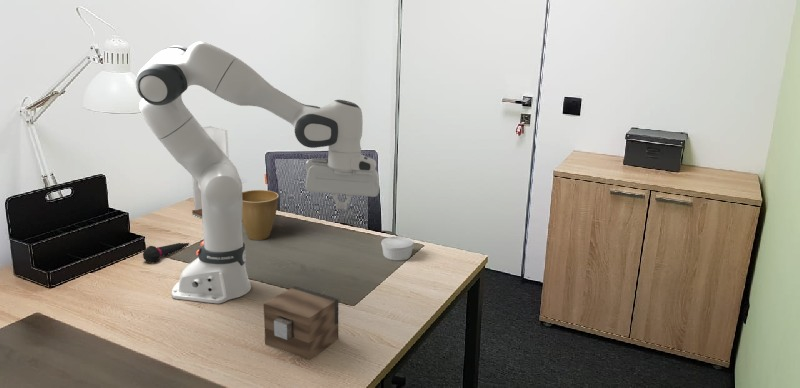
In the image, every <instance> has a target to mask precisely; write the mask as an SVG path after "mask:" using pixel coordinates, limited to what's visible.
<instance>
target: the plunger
mask: <svg viewBox="0 0 800 388" xmlns="http://www.w3.org/2000/svg"><path fill="white" fill-rule="evenodd" d="M274 335H275V336H278V337H280V338H283V339H286V340H288V339H289V338H291V337H292V336H294V329H293V320H290V319H287V318H284V317H279V318H277V319H276V320H274Z"/></svg>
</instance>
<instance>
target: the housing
mask: <svg viewBox="0 0 800 388" xmlns="http://www.w3.org/2000/svg"><path fill="white" fill-rule="evenodd" d="M279 317H284V318H287V319H290V320H293V329H294V336H292V337H291V338H289V339H288V340H286V339H283V338H280V337H278V336H275V335H274V320H276V319H277V318H279ZM263 323H264V324H263V325H264V326H263V327H264V345H266V346H269V347H271V348H274V349H277V350H278V351H279V350H280V351H281V352H282V351H283V352H285V353H288V354H290V355H294V356H296V357H299V358H301V359H304V360H307V361H311V360H312V359H314V358H315V357H316V356H318V355H319V354H320V353H322V352H323V351H324V350H326V349H327V348H329V347H330V346H331V345H333V344H334V343H335V342H336V341H338V340H339V299H338V298H336V297H334V296H333V297H332V296H329V295H325V294H323V293H319V292H317V291H313V290H309V289H306V288H303V287H299V286H296V285H294V286H292V287H290V288H289V289H287V290H286V291H283V292H282V293H279V294H278V295H276V296H274V297H273V298H271V299H269V300H267V301H265V302H263Z"/></svg>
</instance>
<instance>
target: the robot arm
mask: <svg viewBox="0 0 800 388" xmlns="http://www.w3.org/2000/svg"><path fill="white" fill-rule="evenodd" d="M190 86H199V87H201V88H203V89H205V90H207V91H209V92H210V93H211V94H214V96H217V97H218V98H221V99H223V100H224V101H227V102H229V103H231V104H234V105H236V106H240V107H241V106H243V107H247V106H249V107H257V108H261V109H264V110H267V111H268V112H270V113H272V114H274V115H275V116H277V117H279V118H280V119H282V120H284V121H286V122H288V123H289V124H290V125H292V127H294V135H295V138H296V140H297V141H298V142H299V143H300V145H302V146H303V147H306V148H311V149H316V148H324V147H328V150H327V151H328V152H327V153H328V154H327V158H317V157H312V158H310V159H308V160H307V161H306V163H305V171H306V173H307V174H306V180H305V186H304V187H305V189H306V191H307V192H310V193H322V194H332V199H333V202H334V203H335V210H341V211H342V210H343V211H347V208H348V204H349V202H350V201H351V199H352V196H358V197H362V196H363V197H372V198H373V197H374V198H376V197H377V196H378V195H379V191H380V181H379V180H380V179H379V178H380V177H379V173H378V170H376V167H377V162H376V160H375V159H374V158H372V157H368V156H366V155H365V154H364V155H363V154H362V147H361V139H362V137H363V122H364V121H363V112H362V108H361V107H360V106H359V105H357V104H356V103H354V102H352V101H348V100H345V99H336V100H333V101H332V102H331V103H329V104H327V105H324V106H322V107H320V106H317V105H309V104H306V103H305V104H304V103H301V102H300V101H298V100H296V99H294V98H293V97H291V96H289V95H288V94H286V93H284V92H283V91H281V90H279V89H277V88H275V87H274V86H273V85H271V84H270V82H268V81H267V80H266V79H264V77H262V76H261V74H259V73H258V72H257V71H256V70H255V69H253V68H252V67H251V66H250V65H248V64H247V63H245V62H244V61H243V60H242V59H239V58H238V57H236V56H234V55H233V54H231V53H230V52H227V51H226V50H224V49H222V48H220V47H217V46H215V45H213V44H211V43H208V42H204V41H196V42H195V43H193V44H191V45H190V46H189V47H186V46H183V45H172V46H167V47H165V48H163V50H161V51H159V52H158V53H156V54H155V55H154V56H152V57H151V58H150V60H149V61H148V62H147V63H146V64H145V65H144V66H142V68H141V69H140V70H139V71H138V74H137V76H136V78H135V88H136V91H137V93H138V95H139V96H140V97H141V100H140V102H139V106H138V107H139V111H140V113H141V116H142V117H143V119H144V121H145V122H146V124H147V125H148V127H149V129H150V130H151V131H152V133H153V134H154V136H155V137H156V138H157V139H158V140H159V142H160V143H161V145H163V146H164V148H166V150H167V152H169V154H170V155H171V156H172V157H173V158H174V159H175V161H176V162H177V163H178V164H180V165H181V166H182V168H183V169H185V170H186V171H187V172H188V173H189V174H190V175H191V176H193V177H194V178H195V179H196V180H197V182H198V183H199V185H200V188H201V202H202V219H201V220H202V232H203V233H202V235H203V241H202V242H201V243H200V245H199V247H198V248H197V251H196V257H197V258H196V259H194V260H192V261H191V262H190V263H188V264H187V266H185V268H183V270H182V271H181V273H180V276H179V281H177V282H176V283H175V285H174V286H173V287H172V290H171V297H172V299H177V300H184V301H192V302H193V301H194V302H201V303H209V304H210V303H211V304H218V305H219V304H222V303H225V302H226V301H230V300H232V299H237V298H239V297H242V296H245V295H246V294H247V293H249V292H250V291H251V289H252V286H251V285H252V284H251V282H250V281H249V277H248V272H247V268H246V267H247V266H246V259H247V254H246V251H247V250H246V245H245V242H244V237H243V236H244V233H243V222H242V192H243V183H242V180H241V176H240V174H239V172H238V168H237V167H236V166H235V165H234V163H233V162H232V160H230V158H228V157H227V156H226V155H225V154H224V152H223V151H222V150H221V149H220V148H219V147H218V146H217V144H216V143H215V142H214V141H213V140H212V139H211V138H210V136H209V135H208V134H207V133H206V131H205V130H204V129H203V128H202V127H203V126H202V125H201V124H200V123H199V121H198V120H197V119H196V118H195V116H194V115H193V114H192V113H191V111H190V109H188V107H187V106H186V105H185V103H184V102H183V98H182V96H183V95H182V94H183V93H185V91H187V89H188V87H190ZM193 177H192V178H193ZM339 195H345V199H346V200H345V201H344V202H343V201H342V202H341V201H340V200H339V199H338V197H339Z"/></svg>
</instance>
